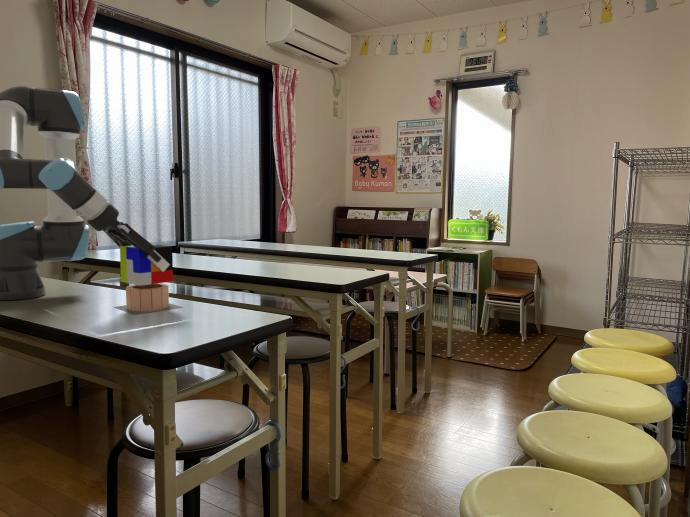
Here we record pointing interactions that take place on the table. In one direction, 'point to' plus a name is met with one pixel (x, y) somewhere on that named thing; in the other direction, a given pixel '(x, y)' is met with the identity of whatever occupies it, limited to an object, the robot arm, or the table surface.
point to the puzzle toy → (144, 266)
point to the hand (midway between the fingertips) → (156, 266)
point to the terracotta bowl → (147, 297)
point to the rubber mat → (124, 308)
